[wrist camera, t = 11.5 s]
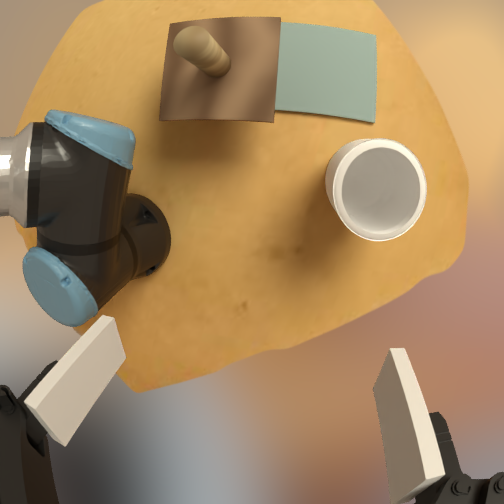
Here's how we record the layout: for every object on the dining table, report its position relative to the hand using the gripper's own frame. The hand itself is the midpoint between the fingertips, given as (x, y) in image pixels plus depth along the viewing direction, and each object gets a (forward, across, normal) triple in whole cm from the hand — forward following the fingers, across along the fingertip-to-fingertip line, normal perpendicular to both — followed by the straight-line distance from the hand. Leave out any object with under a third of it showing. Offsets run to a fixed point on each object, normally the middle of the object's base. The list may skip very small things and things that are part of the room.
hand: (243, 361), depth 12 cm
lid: (+24, -8, +19) cm, 32 cm away
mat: (+33, +6, +22) cm, 40 cm away
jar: (+33, +10, +6) cm, 35 cm away
